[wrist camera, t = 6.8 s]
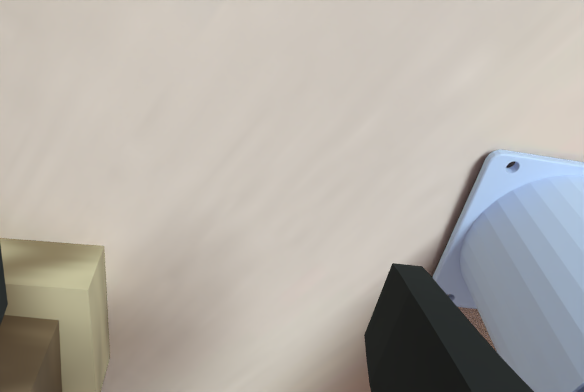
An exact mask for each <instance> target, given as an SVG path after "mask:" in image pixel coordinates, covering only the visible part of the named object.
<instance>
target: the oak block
mask: <svg viewBox="0 0 584 392" xmlns="http://www.w3.org/2000/svg"><path fill="white" fill-rule="evenodd" d="M0 245H1V253H2V261H3V269H4V277H5V285H6V293H7V301H8V305H7V308H6V311H5V314H4V315H11V316H21V317H31V318H41V319H52V320H59V333H60V355H61V376H62V392H101V388H102V384H103V381H104V377H105V374H106V370H107V366H108V363H109V359H110V348H109V329H108V310H107V291H106V272H105V253H104V246H96V245H83V244H70V243H57V242H44V241H31V240H18V239H5V238H0Z"/></svg>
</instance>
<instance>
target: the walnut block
mask: <svg viewBox="0 0 584 392" xmlns="http://www.w3.org/2000/svg"><path fill="white" fill-rule="evenodd" d="M0 392H62V376H61V355H60V333H59V320H52V319H41V318H31V317H21V316H11V315H4V317H3V320H2V322H1V325H0Z"/></svg>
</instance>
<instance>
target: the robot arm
mask: <svg viewBox="0 0 584 392" xmlns="http://www.w3.org/2000/svg"><path fill="white" fill-rule="evenodd" d="M514 161H515V164H514V165H513V166H512V167H510V168H506V166H507V165H508V164H509V163H511V162H514ZM448 294H451V295H449V296H447V295H448ZM7 305H8V301H7V293H6V285H5V277H4V269H3V261H2V253H1V245H0V325H1V322H2V320H3V317H4V314H5V311H6V308H7ZM458 307H464V308H473V309H478V312H479V314H480V316H481V318H482V320H483V323H484V325H485V327H486V329H487V331H488V333H489V336H490V338H491V340H492V342H493V344H494V347H495V349H496V351H497V352H496V351H495V350H494V349H493V348H492V346H491V345H490V344H489V343H488V342H487V341H486V340H485V339H484V337H483V336H482V335H481V334H480V333H479V332H478V331H477V329H476V328H475V327H474V326H473V325H472V324H471V323H470V321H469V320H468V319H467V318H466V317H465V316H464V314H463V313H462V312H461V311H460V310H459V308H458ZM364 336H365V346H366V357H367V366H368V375H369V383H370V388H371V392H584V162H578V161H572V160H565V159H559V158H552V157H546V156H540V155H533V154H527V153H520V152H514V151H507V150H496V151H493V152H492V153H490V154H489V155H488V156H487V158H486V159H485V161H484V163H483V166H482V168H481V170H480V172H479V175H478V177H477V179H476V181H475V183H474V186H473V188H472V190H471V192H470V195H469V197H468V199H467V201H466V203H465V206H464V208H463V210H462V212H461V215H460V217H459V219H458V221H457V224H456V226H455V228H454V230H453V232H452V235H451V237H450V239H449V241H448V244H447V246H446V248H445V250H444V252H443V255H442V257H441V259H440V261H439V264H438V266H437V268H436V270H435V272H434V275H433V277H431V276H430V275H429V273H428V272H427V271H426V270H425V269H424V268H423V267H421V266H412V265H403V264H394V263H393V264H392V266H391V269H390V271H389V274H388V276H387V279H386V281H385V284H384V287H383V289H382V292H381V294H380V297H379V299H378V302H377V304H376V307H375V309H374V312H373V315H372V317H371V320H370V322H369V325H368V327H367V330H366V332H365V335H364Z"/></svg>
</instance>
